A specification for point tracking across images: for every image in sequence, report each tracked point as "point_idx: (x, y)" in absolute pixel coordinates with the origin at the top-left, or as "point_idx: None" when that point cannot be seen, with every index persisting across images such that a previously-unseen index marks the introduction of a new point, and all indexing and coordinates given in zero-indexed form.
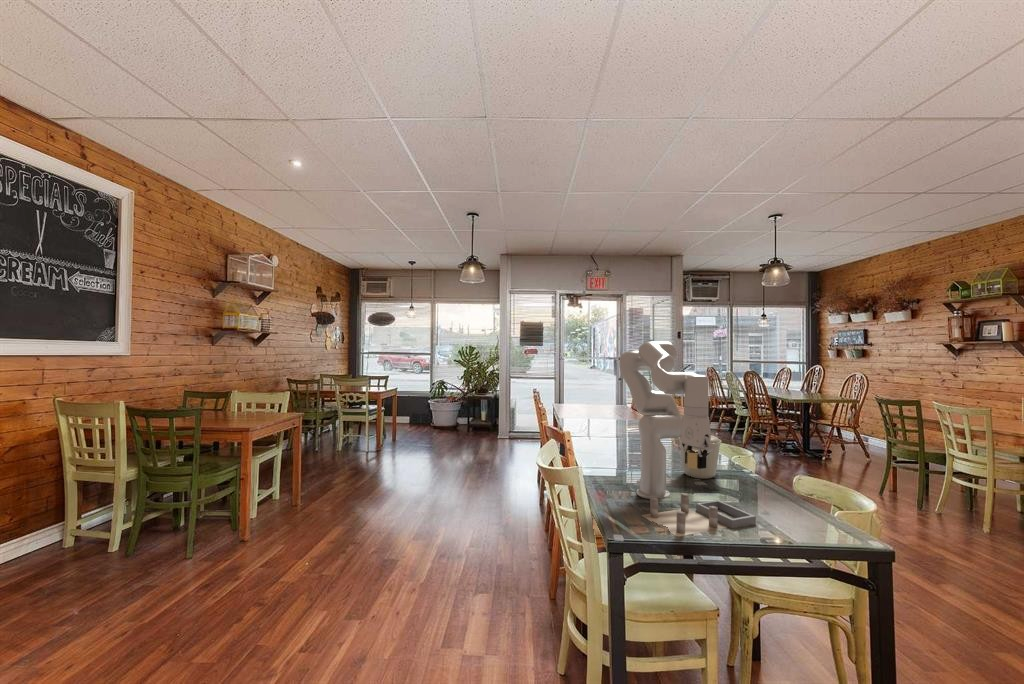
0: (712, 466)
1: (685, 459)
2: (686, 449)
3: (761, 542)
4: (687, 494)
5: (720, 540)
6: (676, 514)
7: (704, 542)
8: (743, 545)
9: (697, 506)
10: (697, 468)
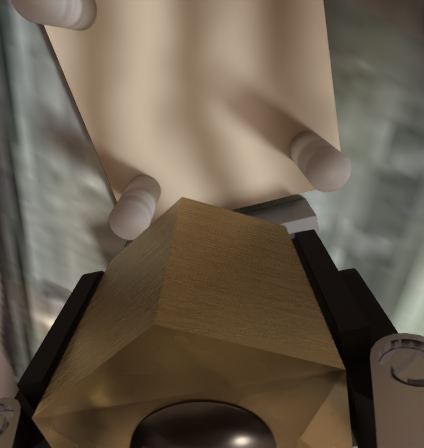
0: None
1: (315, 253)
2: (371, 386)
3: (42, 281)
4: (327, 186)
5: (42, 160)
6: (281, 91)
7: (15, 85)
8: (10, 216)
9: (304, 213)
10: (108, 269)
